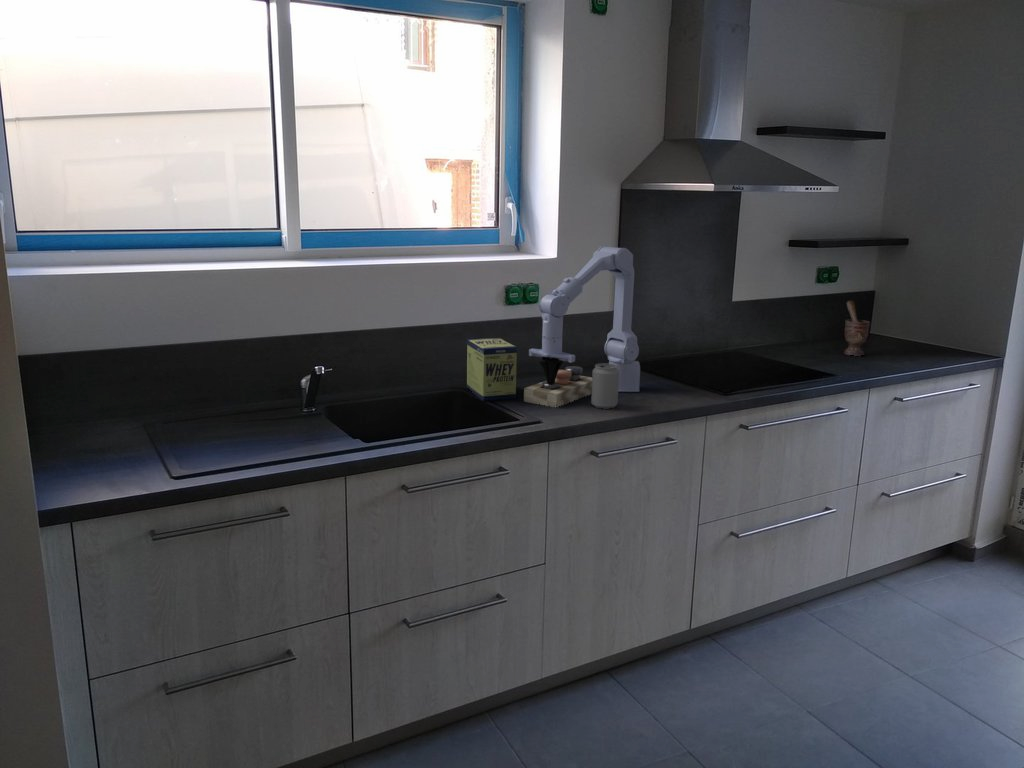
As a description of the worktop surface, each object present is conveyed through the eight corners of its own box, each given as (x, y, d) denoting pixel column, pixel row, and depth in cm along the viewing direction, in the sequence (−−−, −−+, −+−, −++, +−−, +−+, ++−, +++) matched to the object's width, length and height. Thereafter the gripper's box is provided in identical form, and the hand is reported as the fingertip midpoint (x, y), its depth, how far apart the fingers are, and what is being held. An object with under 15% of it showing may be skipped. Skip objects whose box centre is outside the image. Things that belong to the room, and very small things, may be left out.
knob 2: (580, 380, 252) (581, 366, 251) (583, 384, 247) (583, 370, 246) (563, 380, 252) (564, 366, 251) (565, 384, 247) (566, 369, 245)
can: (602, 401, 240) (604, 361, 237) (622, 406, 235) (624, 365, 232) (585, 405, 235) (587, 364, 232) (606, 411, 230) (608, 369, 227)
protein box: (483, 401, 238) (483, 348, 234) (466, 389, 252) (466, 338, 248) (516, 398, 241) (517, 346, 238) (498, 386, 255) (498, 337, 252)
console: (567, 385, 257) (567, 373, 257) (598, 391, 251) (598, 378, 250) (523, 401, 238) (524, 388, 237) (556, 407, 232) (556, 394, 231)
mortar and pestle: (830, 352, 318) (836, 300, 314) (845, 350, 322) (851, 299, 318) (855, 357, 309) (861, 304, 304) (870, 355, 313) (877, 303, 308)
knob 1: (558, 396, 242) (558, 381, 241) (560, 400, 237) (560, 385, 236) (540, 395, 242) (541, 381, 241) (542, 400, 237) (542, 385, 236)
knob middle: (569, 384, 247) (570, 369, 246) (572, 388, 242) (572, 373, 241) (552, 384, 246) (553, 369, 245) (554, 388, 241) (555, 373, 240)
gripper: (523, 335, 236) (522, 382, 239) (566, 342, 228) (564, 389, 231) (537, 332, 242) (535, 377, 245) (579, 338, 234) (577, 385, 237)
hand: (550, 383), depth 239 cm, fingers closed, pressing on knob 1
